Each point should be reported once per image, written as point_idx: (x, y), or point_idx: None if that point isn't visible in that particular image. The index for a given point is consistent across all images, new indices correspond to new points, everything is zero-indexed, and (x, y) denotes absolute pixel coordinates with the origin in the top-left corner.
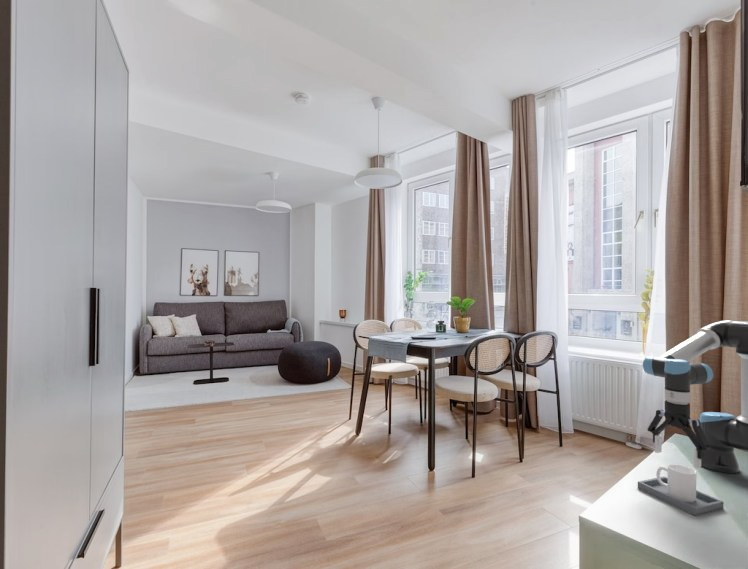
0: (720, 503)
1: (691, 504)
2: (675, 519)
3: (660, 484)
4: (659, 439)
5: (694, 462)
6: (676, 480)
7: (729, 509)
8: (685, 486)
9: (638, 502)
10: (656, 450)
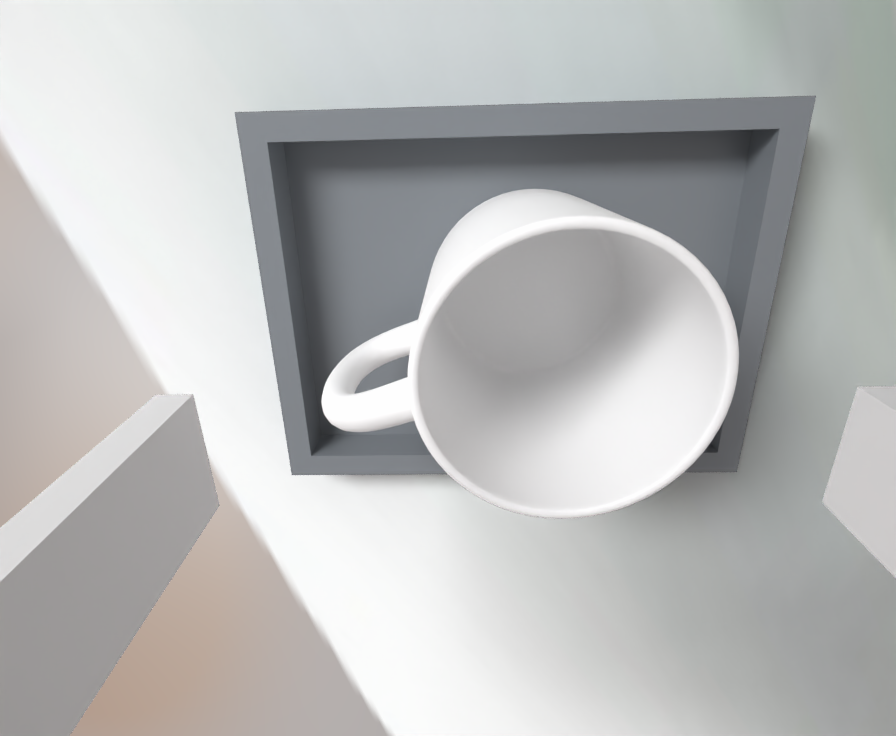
0: (798, 149)
1: None
2: (670, 581)
3: (307, 231)
4: (28, 667)
5: (889, 560)
6: (566, 454)
7: (808, 45)
8: (627, 404)
9: (461, 600)
10: (193, 532)
